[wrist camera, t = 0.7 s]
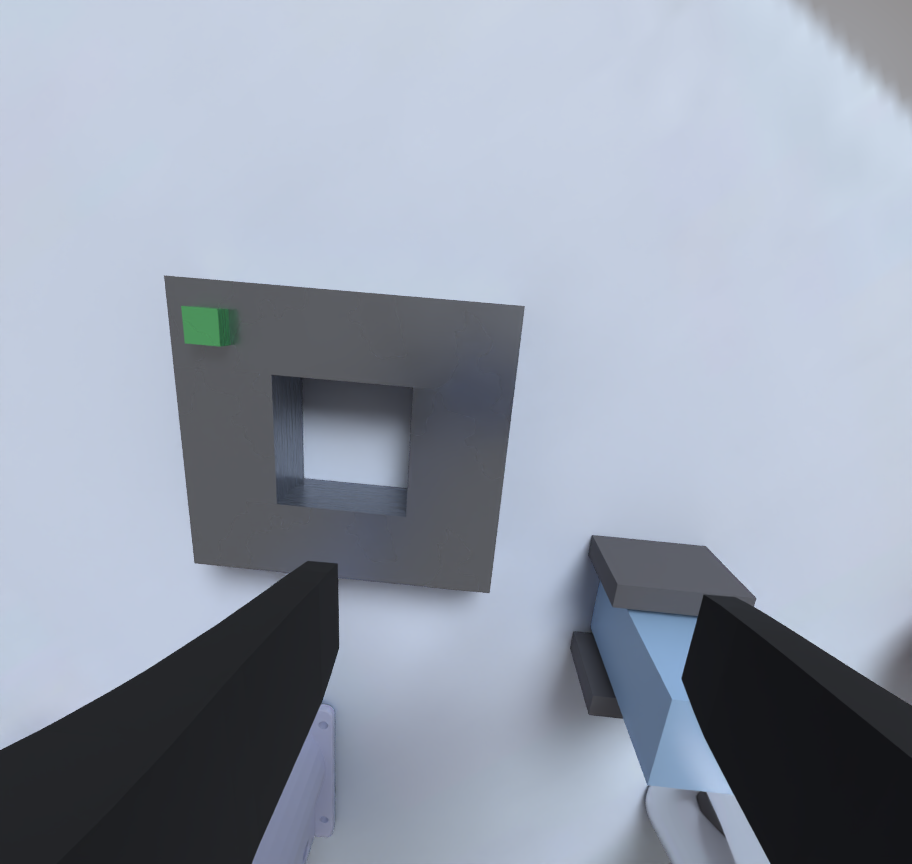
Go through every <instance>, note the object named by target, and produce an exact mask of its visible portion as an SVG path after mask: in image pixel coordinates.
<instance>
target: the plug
mask: <svg viewBox="0 0 912 864" xmlns="http://www.w3.org/2000/svg"><path fill="white" fill-rule="evenodd" d="M697 618H698V616H693V615H683V614H673V613H663V612H653V611H643V610H634V609H624V608H614V607H612V605H611V603H610V601H609V598H608V596H607V594H606V592H605V590H604V588H603V585H602V583H601V581H600V582H599V587H598V592H597V597H596V601H595V606H594V611H593V616H592V621H591V626H590V627H591V630H592V632H593V635H594V638H595V641H596V643H597V646H598V649H599V652H600V655H601V657H602V660H603V663H604V666H605V669H606V671H607V674H608V677H609V680H610V683H611V685H612V688H613V691H614V694H615V696H616V699H617V702H618V705H619V708H620V710H621V713H622V716H623V719H624V722H625V724H626V727H627V730H628V733H629V735H630V738H631V741H632V744H633V747H634V749H635V752H636V755H637V758H638V761H639V763H640V766H641V769H642V772H643V774H644V777H645V780H646V783H647V785H650V786H659V787H668V788H676V789H685V790H694V791H703V792H712V793H721V794H730V795H734V794H733V792H732V790H731V788H730V787H729V785H728V783H727V781H726V779H725V777H724V775H723V773H722V771H721V769H720V767H719V765H718V763H717V762H716V760H715V758H714V756H713V754H712V752H711V750H710V748H709V746H708V744H707V742H706V740H705V738H704V736H703V733H702V731H701V729H700V726H699V724H698V721H697V719H696V716H695V714H694V711H693V709H692V706H691V704H690V701H689V698H688V696H687V693H686V690H685V688H684V685H683V682H682V679H681V677H682V674H683V670H684V666H685V662H686V659H687V655H688V651H689V647H690V644H691V640H692V636H693V632H694V629H695V625H696V621H697Z"/></svg>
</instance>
